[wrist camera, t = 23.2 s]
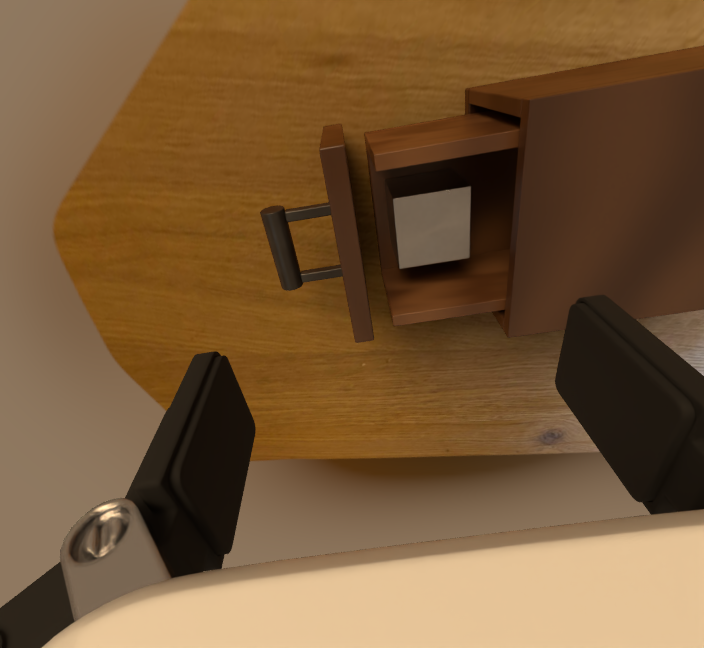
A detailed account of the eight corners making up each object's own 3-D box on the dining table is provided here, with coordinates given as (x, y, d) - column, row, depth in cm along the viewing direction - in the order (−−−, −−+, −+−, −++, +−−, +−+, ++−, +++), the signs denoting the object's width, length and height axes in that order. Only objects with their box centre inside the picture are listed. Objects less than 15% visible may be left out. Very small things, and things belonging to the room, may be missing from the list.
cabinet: (463, 268, 31) (507, 338, 23) (465, 88, 24) (529, 99, 16) (648, 239, 30) (760, 301, 22) (706, 45, 23) (899, 34, 15)
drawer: (299, 292, 31) (289, 353, 24) (257, 138, 24) (230, 164, 18) (522, 258, 30) (574, 311, 23) (540, 87, 23) (618, 95, 17)
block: (390, 242, 28) (399, 269, 24) (384, 179, 25) (392, 198, 21) (452, 232, 27) (470, 258, 24) (451, 168, 25) (471, 185, 21)
